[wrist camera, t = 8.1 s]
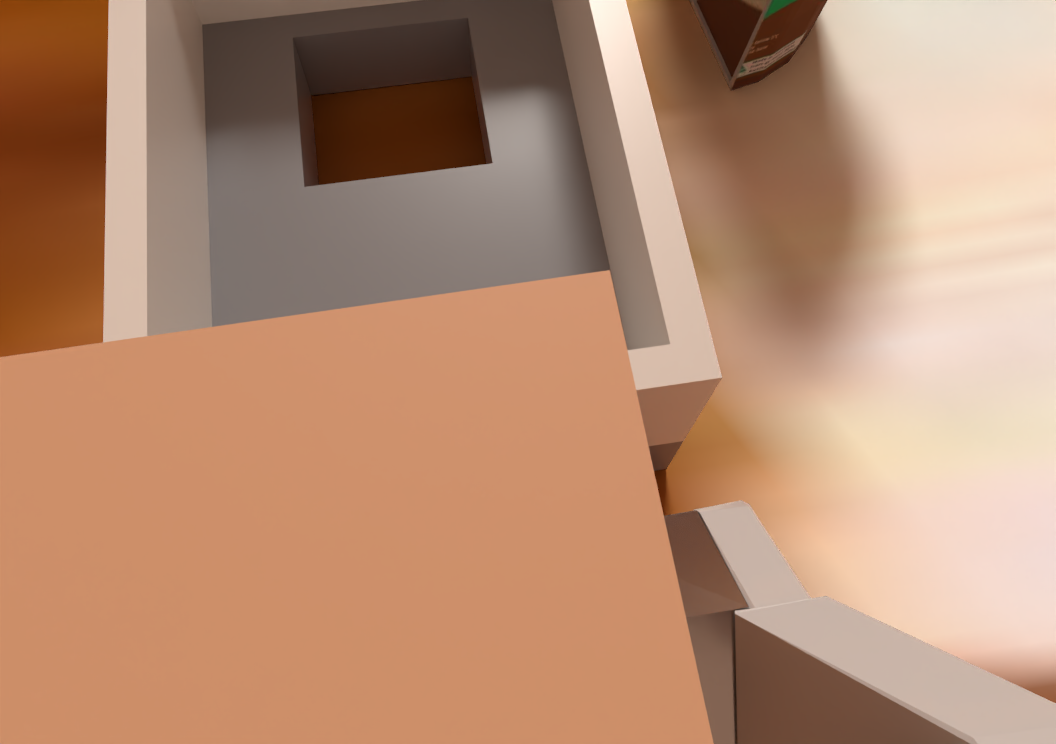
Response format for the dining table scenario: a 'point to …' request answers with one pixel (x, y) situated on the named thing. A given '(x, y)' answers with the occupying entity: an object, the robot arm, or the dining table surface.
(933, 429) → the dining table surface
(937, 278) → the dining table surface
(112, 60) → the socket box
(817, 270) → the dining table surface
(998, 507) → the dining table surface
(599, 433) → the peg
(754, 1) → the food container
